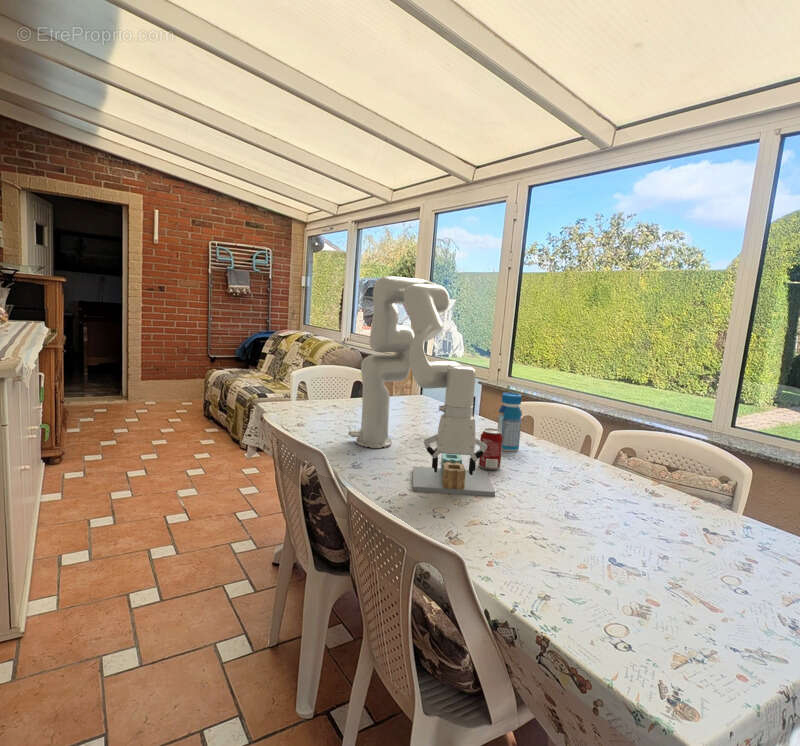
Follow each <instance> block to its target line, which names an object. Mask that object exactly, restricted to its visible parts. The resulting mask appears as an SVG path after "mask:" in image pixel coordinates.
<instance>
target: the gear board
mask: <svg viewBox="0 0 800 746" xmlns="http://www.w3.org/2000/svg"><path fill="white" fill-rule="evenodd" d="M447 462H451V463H454V464H455V463H460V464H463V458H462V455H457V454H445V453H441V460H440V467H438V468H437V472H434V468H432V467H429V466H428V467H427V466H426V467H425V466H414V465H413V468H412V491H413V492H425V493H442V494H454V495H455V494H456V495H472V496H484V497H485V496H486V497H487V496H488V497H496V490H495V487H494V485H493V484H492V482H491V481H492V480H491V479H490V476H489V473H488V472H487V471H486V470H476V469H475V471H473V475H470V474H469V469H465V471H466V473H465V486H464V489H461V490H456V488H452V489H447V488H443V482H442V475H443V463H447Z"/></svg>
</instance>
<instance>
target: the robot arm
mask: <svg viewBox="0 0 800 746" xmlns="http://www.w3.org/2000/svg"><path fill="white" fill-rule="evenodd" d="M372 302H373V314H372V321H371V326H370V327H371V329H370V335H369V346H370V348H371V350H373V351H374V352H377V353H394V354H372V355H371V354H370V355H368V356H366V357H365V358H363V359H362V361H361V364H360V373H361V378H362V379H361V381H362V403H361V404H362V405H361V406H362V407H361V423H360V424H361V427H360V429H357V430H353V429H352V430H351V429H349V430H348V436H350V437H351V438H356V440H355V443H356V442H357V443H358V444H359V445H358V444H357V443H356V444H357V445H358V446H360V445H361V446H360V447H363V446H365V447H364V448H367V447H370V448H369V449H383V448H382V447H384V448H388V447H390V446H392V441H393V440H392V439H391V438H390V437H389V434H388V433H389V422H390V421H389V419H390V417H389V416H390V415H389V414H390V400H391V399H390V398H391V397H390V391H389V389H388V388H387V386H386V384H385V383H388V382H389V383H390V382H402V381H405V380H406V379H407V378H408V377H409V374H410V370H411V372H412V373H411V374H412V376H413V378H414V380H415V383H416V384H417V385H418V386H419V387H420V388H422V389H425V390H427V389H445V396H444V404H443V405H439V406H438V411H439V412H442V414H441V415H440V418H439V422H438V423H439V424H438V428H437V434H435V435H433V436H430V437H428V438H425V439H424V440H423V444H424V447H425V449H426V452H427V453H429V455H430V456H431V457H432V460H431V462H432V463H431V468H434V472H437V468H439V467H438V465H439V455H440V454H442V453H445V454H457V455H461V456H470V457H469V462H468V464H469V465H468V470H469V474H470V475H473V471H475V470H476V466H477V464H476V463H477V461H478V460H479V458H480V457H481V456H482V455H483V453H484V452H485V450H486V449H487V447H488V446H487V444H485V443H484V442H482V441H480V438H479V439H478V438H477V437H476V419H475V416H474V417H473V416H472V409H473V399H474V396H475V387H476V386H475V385H476V374H477V373H476V369H475V368H474V367H472V366H468V365H463V364H461V363H459V362H457V361H453V360H430V361H429V360H428V358H427V354H426V352H425V351H426V350H425V347H424V346H425V343H426V342H429V341H430V340H432V339H435V338H436V337H437V336H439V335H440V334H441V332H442V331H443V330H444V329H443V328H444V327H443V323H442V322H443V321H442V319H441V317H440V315H439V314H441V313H444V312H445V311H447V309H448V308H449V306H450V296H449V293H448V290H447V289H446V288H445V287H444V286H443V285H441V284H438V283H434V282H433V281H432V282H431V281H429V280H426V279H423V278H413V277H406V276H405V277H404V276H392V275H390V276H382V277H380V278H378V279H377V281H376V282H375V283H374V286H373V291H372ZM397 304H398V305H405V308H406V312H407V315H408V318H409V320H410V323H411V327H412V328H411V327H410V326H408V325H406V324H405V325H404V324H398V323H399V321H398V320H399V315H400V313H399V309H398V306H397ZM434 442H436V447H435V449H433V447H432V446H431V444H432V443H434ZM476 445H477V446H479V449H478V450H477V451H476V452H475V449H476ZM387 446H388V447H387ZM480 447H481V448H480Z"/></svg>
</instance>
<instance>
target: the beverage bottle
mask: <svg viewBox="0 0 800 746" xmlns="http://www.w3.org/2000/svg"><path fill="white" fill-rule="evenodd" d="M522 398H523V397H522V395H521V393H516V392H503V393H502V396H501V403H502V405H501V406H500V408H499V410H498V417H497V427H496V429H498V430H500V431H501V435H502V437H503V439H502V450H501V451H504V452H517V451H518V450H520V438H521V430H522V428H521V427H522V421H523V419H522V415H523V412H522V409H521V404H522Z"/></svg>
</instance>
